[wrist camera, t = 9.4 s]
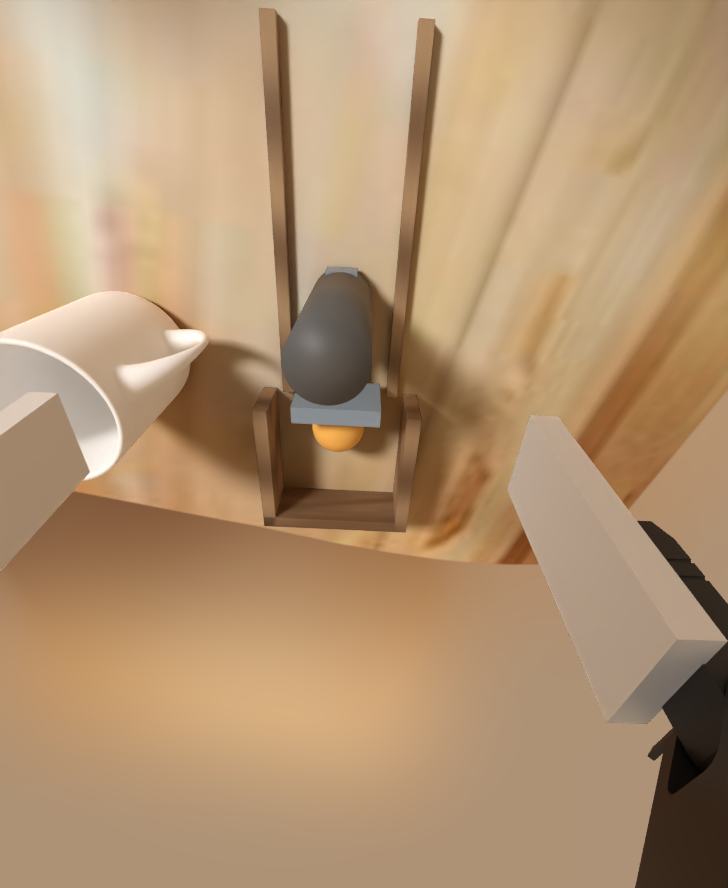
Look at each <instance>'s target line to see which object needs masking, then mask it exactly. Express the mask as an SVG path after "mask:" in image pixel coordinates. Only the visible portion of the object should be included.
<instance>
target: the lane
mask: <svg viewBox="0 0 728 888" xmlns="http://www.w3.org/2000/svg"><path fill="white" fill-rule="evenodd" d="M259 18H260V34H261V50H262V66H263V82H264V97H265V113H266V129H267V145H268V161H269V176H270V192H271V208H272V224H273V240H274V255H275V271H276V287H277V303H278V319H279V334H280V350H281V354H282V350H283V346H284V344H285V342H286V340H287V338H288V336H289V334H290V332H291V330H292V320H291V298H290V277H289V255H288V234H287V212H286V190H285V169H284V147H283V126H282V104H281V82H280V61H279V39H278V18H277V12H276V10H275V9H269V8H259ZM434 28H435V19H424V18H419V21H418V31H417V42H416V54H415V66H414V77H413V89H412V100H411V112H410V123H409V135H408V147H407V158H406V170H405V181H404V193H403V204H402V216H401V228H400V239H399V251H398V262H397V274H396V286H395V297H394V309H393V320H392V332H391V343H390V355H389V367H388V378H387V390H386V397H397V390H398V380H399V370H400V360H401V351H402V341H403V331H404V321H405V311H406V302H407V292H408V282H409V272H410V263H411V253H412V243H413V233H414V223H415V214H416V204H417V194H418V184H419V174H420V165H421V155H422V145H423V135H424V126H425V116H426V106H427V96H428V86H429V77H430V67H431V57H432V47H433V38H434ZM282 382H283V392H294V391H293V390H292V389H291V387H290V386H289V385H288V383H287V381H286V380H285V377H284V375H283V372H282Z"/></svg>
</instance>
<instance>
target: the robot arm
mask: <svg viewBox="0 0 728 888" xmlns="http://www.w3.org/2000/svg"><path fill="white" fill-rule="evenodd" d="M89 473H90V471H89V468H88V466H87V463H86V461H85V458H84V456H83V453H82V451H81V449H80V446H79V444H78V441H77V439H76V436H75V434H74V431H73V429H72V427H71V424H70V422H69V419H68V417H67V414H66V412H65V409H64V407H63V405H62V402H61V400H60V397H59V395H58V393H46V392H28V393H27V394H25V395H24V396H22V397H21V398H19V399H18V400H16V401H15V402H13V403H12V404H10V405H9V406H7V407H6V408H4V409H3V410H1V411H0V571H1V570H2V569H3V568H4V567H5V566H6V565H7V564H8V563H9V561H10V560H11V559H12V558H13V557H14V556H15V555H16V554H17V553H18V551H19V550H20V549H21V548H22V547H23V546H24V545H25V544H26V543H27V542H28V540H29V539H30V538H31V537H32V536H33V535H34V534H35V533H36V531H37V530H38V529H39V528H40V527H41V526H42V525H43V524H44V523H45V522H46V521H47V519H48V518H49V517H50V516H51V515H52V514H53V513H54V512H55V511H56V509H57V508H58V507H59V506H60V505H61V504H62V503H63V502H64V500H65V499H66V498H67V497H68V496H69V495H70V494H71V493H72V492H73V491H74V490H75V488H76V487H77V486H78V485H79V484H80V483H81V482H82V481H83V480H84V478H85V477H86V476H87V475H88V474H89ZM507 491H508V494H509V496H510V498H511V501H512V503H513V505H514V508H515V510H516V512H517V515H518V517H519V519H520V522H521V524H522V526H523V529H524V531H525V533H526V536H527V538H528V540H529V543H530V545H531V547H532V550H533V552H534V554H535V557H536V559H537V561H538V564H539V566H540V568H541V570H542V573H543V575H544V577H545V580H546V582H547V585H548V587H549V589H550V592H551V594H552V596H553V599H554V601H555V603H556V606H557V608H558V610H559V612H560V615H561V617H562V619H563V622H564V624H565V627H566V629H567V631H568V633H569V636H570V638H571V640H572V643H573V645H574V647H575V650H576V652H577V654H578V657H579V659H580V661H581V664H582V666H583V668H584V671H585V673H586V675H587V678H588V680H589V682H590V685H591V687H592V689H593V692H594V694H595V696H596V699H597V701H598V703H599V706H600V708H601V710H602V713H603V715H604V717H605V720H606V722H607V723H627V724H628V723H629V724H648V723H649V722H650V721H651V720H652V719H653V718H654V717H655V716H656V715H657V714H658V712H660V711H661V710H662V709H663V710H664V712H665V714H666V715H667V717H668V719H669V721H670V723H671V724H672V727H673V729H671V730H670V731H669V732H668V733H667V734H666V735H665V736H664V737H663V738H662V739H661V740H660V741H659V742H658V743H657V744H656V745H654V746H653V747H652V749H651V751H650V753H649V754H648V757H650V758H651V759H652V760H656V759H657V758H658V757H659V756H660V755H661V754H662V753H663V756H662V761H661V766H660V771H659V775H658V780H657V785H656V790H655V795H654V800H653V804H652V809H651V814H650V819H649V824H648V828H647V834H646V838H645V844H644V848H643V853H642V857H641V863H640V867H639V872H638V877H637V882H636V886H635V888H728V604H727V603H726V602H725V600H724V599H723V598H722V597H721V595H720V594H719V593H718V592H717V590H716V589H715V588H714V587H713V586H712V584H711V583H710V582H709V581H706V580H705V576H704V575H703V573H702V572H701V571H700V570H699V569H698V567H697V566H696V565H695V564H694V563H691V559H690V558H689V556H688V555H687V554H686V553H685V551H684V550H683V549H682V548H681V547H680V545H679V544H678V543H677V542H676V540H675V539H674V538H672V537H671V536H670V535H668V534H667V533H666V532H664V531H663V530H662V529H660V528H659V527H658V526H656V525H655V524H654V523H652V522H651V521H636V519H635V518H634V517H633V515H632V514H631V513H630V511H629V510H628V509H627V507H626V506H625V505H624V503H623V502H622V501H621V499H620V498H619V497H618V495H617V494H616V493H615V492H614V490H613V489H612V488H611V486H610V485H609V484H608V482H607V481H606V480H605V478H604V477H603V476H602V474H601V473H600V472H599V470H598V469H597V468H596V466H595V465H594V464H593V462H592V461H591V460H590V458H589V457H588V456H587V455H586V453H585V452H584V451H583V449H582V448H581V447H580V445H579V444H578V443H577V441H576V440H575V439H574V437H573V436H572V435H571V433H570V432H569V431H568V429H567V428H566V427H565V425H564V424H563V423H562V421H561V420H560V419H559V418H558V416H542V415H530V418H529V422H528V425H527V428H526V431H525V434H524V437H523V441H522V444H521V447H520V450H519V453H518V456H517V459H516V463H515V466H514V469H513V472H512V475H511V478H510V482H509V485H508V488H507Z"/></svg>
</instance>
